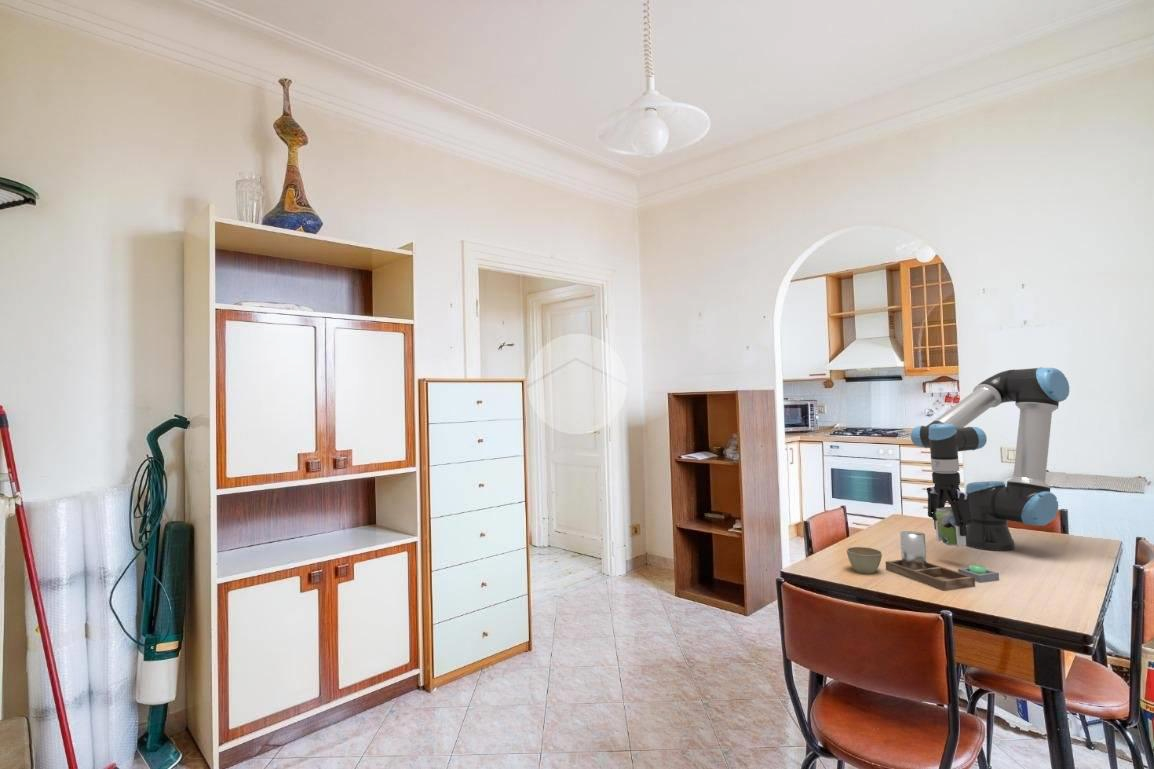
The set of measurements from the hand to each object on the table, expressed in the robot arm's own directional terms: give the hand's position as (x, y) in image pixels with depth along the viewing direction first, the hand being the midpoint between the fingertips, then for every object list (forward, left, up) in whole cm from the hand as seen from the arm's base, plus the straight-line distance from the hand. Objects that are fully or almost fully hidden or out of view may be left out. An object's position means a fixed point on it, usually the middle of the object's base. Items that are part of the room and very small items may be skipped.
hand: (951, 542), depth 180 cm
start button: (+5, +13, -7) cm, 15 cm away
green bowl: (+30, -4, -8) cm, 31 cm away
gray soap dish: (+5, +13, -8) cm, 16 cm away
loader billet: (+18, +3, -7) cm, 19 cm away
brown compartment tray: (+18, +8, -8) cm, 21 cm away
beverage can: (0, 0, -1) cm, 1 cm away
